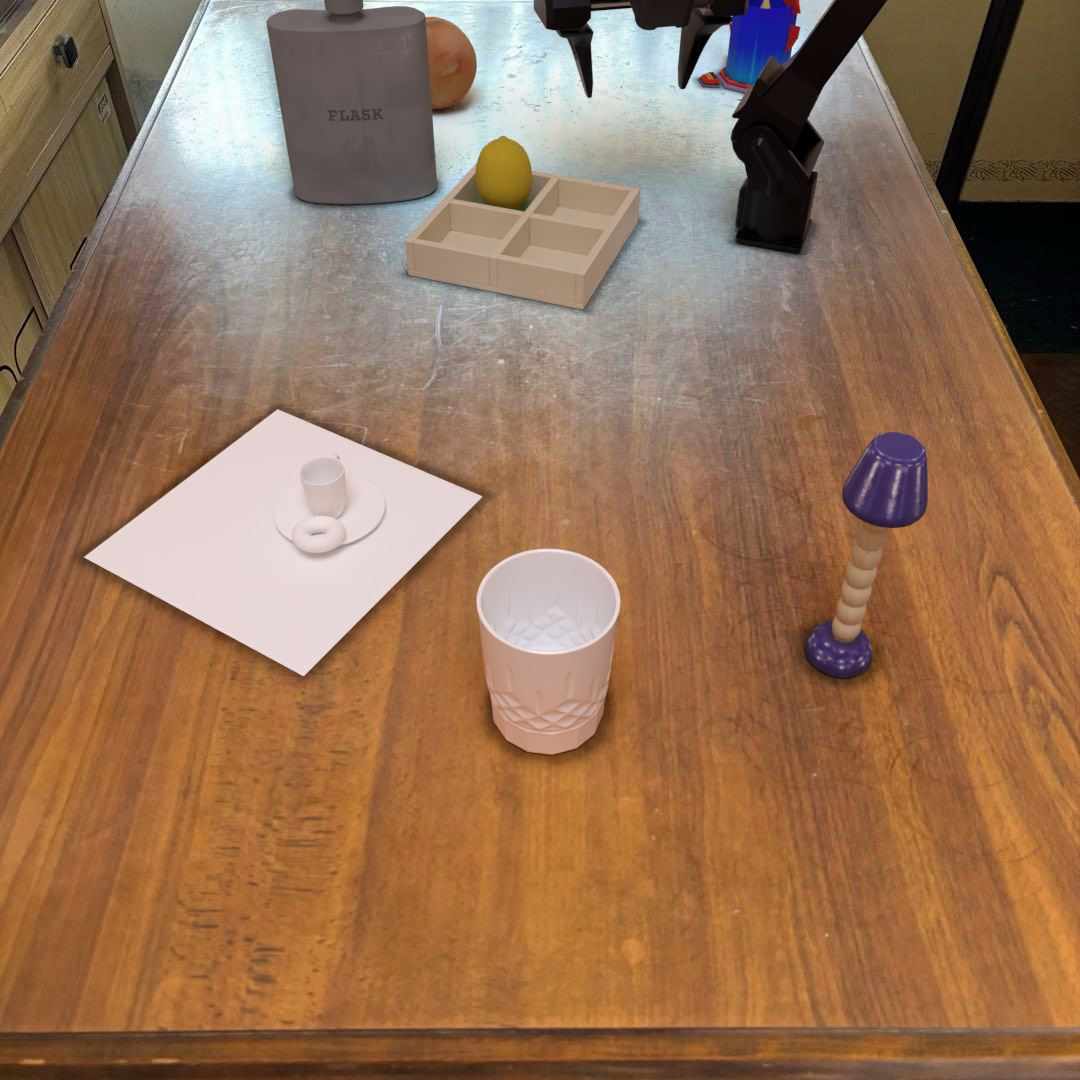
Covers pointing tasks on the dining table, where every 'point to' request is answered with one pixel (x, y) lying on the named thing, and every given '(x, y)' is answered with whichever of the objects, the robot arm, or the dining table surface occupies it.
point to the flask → (355, 102)
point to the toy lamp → (870, 544)
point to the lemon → (503, 174)
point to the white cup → (548, 646)
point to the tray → (527, 239)
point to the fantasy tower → (756, 43)
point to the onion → (449, 62)
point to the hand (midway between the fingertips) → (635, 92)
